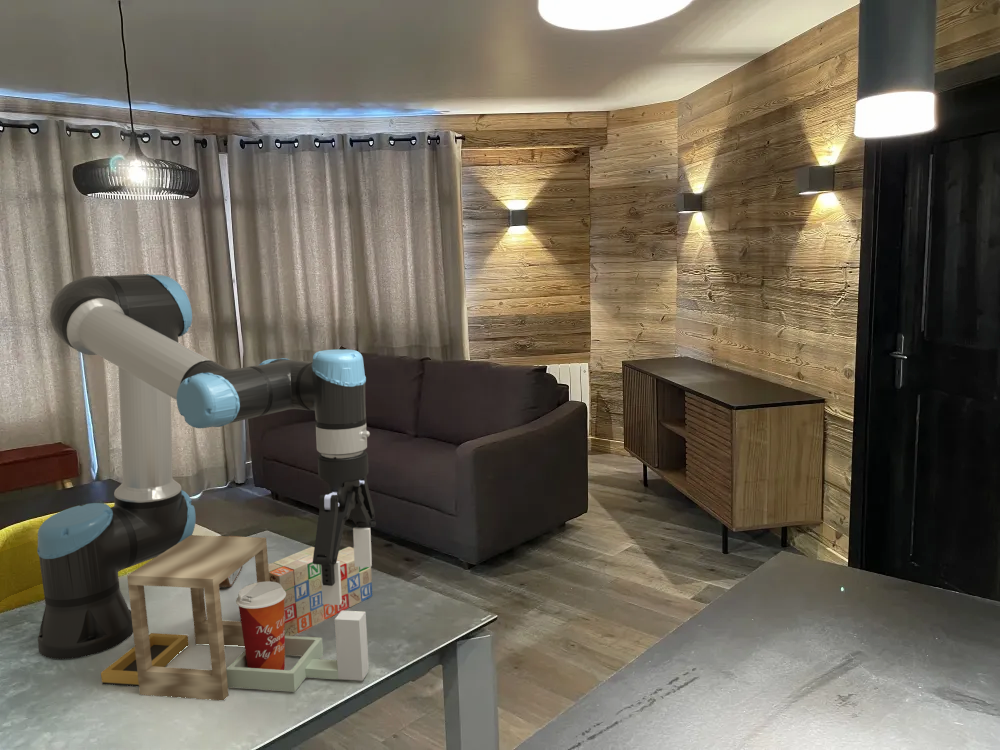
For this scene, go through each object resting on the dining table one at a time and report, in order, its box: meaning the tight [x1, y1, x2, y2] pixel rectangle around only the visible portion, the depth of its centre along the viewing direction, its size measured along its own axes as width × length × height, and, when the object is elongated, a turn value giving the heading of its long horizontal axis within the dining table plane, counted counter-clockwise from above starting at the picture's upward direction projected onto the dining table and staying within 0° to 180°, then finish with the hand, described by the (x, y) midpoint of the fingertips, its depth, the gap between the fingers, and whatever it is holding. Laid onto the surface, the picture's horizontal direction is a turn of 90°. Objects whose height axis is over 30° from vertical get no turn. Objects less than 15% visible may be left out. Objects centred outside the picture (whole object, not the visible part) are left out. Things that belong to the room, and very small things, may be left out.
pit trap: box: [100, 632, 190, 688], centre depth 124 cm, size 7×13×2 cm, turn 171°
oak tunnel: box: [126, 534, 269, 701], centre depth 121 cm, size 14×17×20 cm
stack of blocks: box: [268, 546, 373, 636], centre depth 140 cm, size 21×6×12 cm, turn 143°
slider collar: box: [226, 610, 370, 693], centre depth 119 cm, size 20×11×10 cm, turn 81°
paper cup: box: [235, 581, 286, 670], centre depth 120 cm, size 8×8×14 cm
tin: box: [219, 534, 243, 589], centre depth 157 cm, size 15×3×8 cm, turn 6°
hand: (348, 583), depth 116 cm, fingers open, 13 cm apart
